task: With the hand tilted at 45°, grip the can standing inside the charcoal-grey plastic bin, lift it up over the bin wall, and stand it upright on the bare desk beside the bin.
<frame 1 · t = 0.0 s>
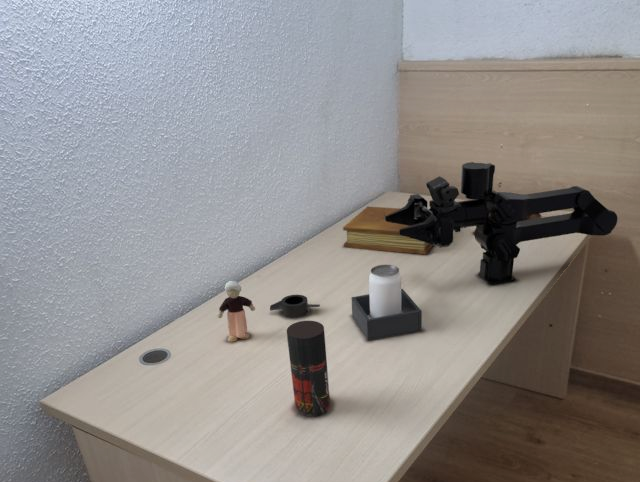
hand: (392, 225, 130), 17 cm above the table, tool horizontal, fingers open, 9 cm apart
grandmother figurine: (241, 337, 128), on the table
bin: (385, 323, 128), on the table
deodorant: (312, 407, 105), on the table
diary: (395, 239, 169), on the table
dark ring with tabs: (295, 312, 135), on the table
can: (385, 324, 128), resting in bin
place setting: (504, 223, 173), on the table
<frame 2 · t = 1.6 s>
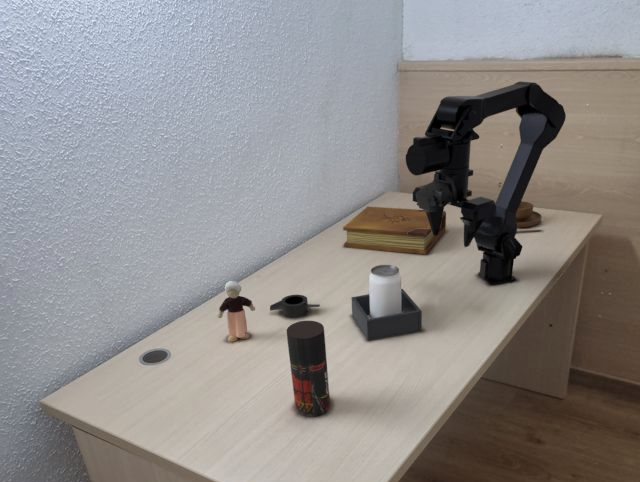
hand: (450, 240, 130), 13 cm above the table, tool pointing down, fingers open, 9 cm apart
nothing on the table moved.
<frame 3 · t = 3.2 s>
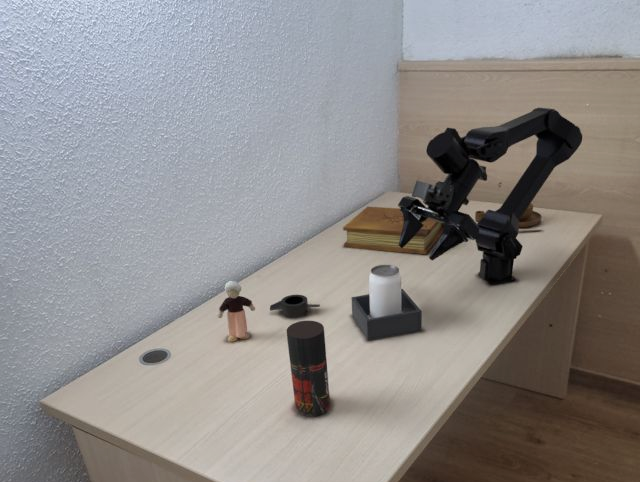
hand: (414, 252, 124), 13 cm above the table, tool tilted 45°, fingers open, 9 cm apart
nothing on the table moved.
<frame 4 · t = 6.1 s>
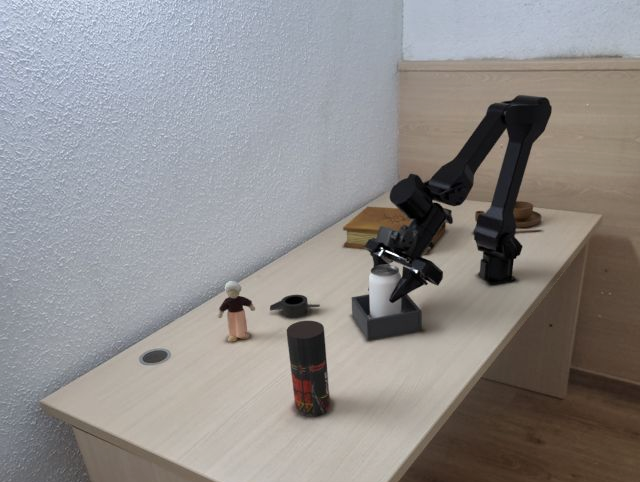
hand: (380, 296, 124), 7 cm above the table, tool tilted 45°, fingers closed on can, 6 cm apart
can: (385, 324, 128), resting in bin, touching gripper
everything else where it was.
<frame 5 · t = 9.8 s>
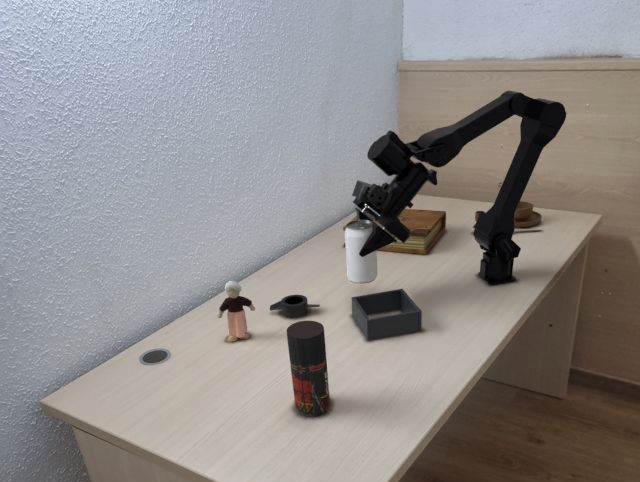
hand: (354, 250, 128), 13 cm above the table, tool tilted 45°, fingers closed on can, 6 cm apart
can: (362, 278, 132), point 6 cm above the table, touching gripper
everything else where it was.
when the fingers open (7 cm above the table, at t = 13.4 s): can stays where it is, on the table.
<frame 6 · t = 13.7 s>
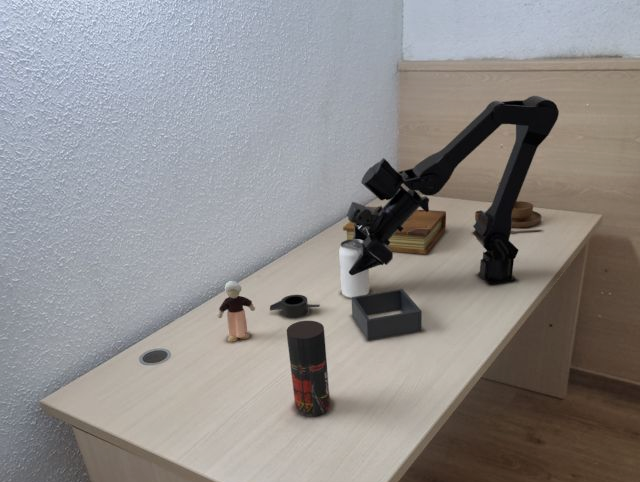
hand: (347, 266, 138), 7 cm above the table, tool tilted 45°, fingers open, 9 cm apart
can: (355, 293, 142), on the table
everything else where it was.
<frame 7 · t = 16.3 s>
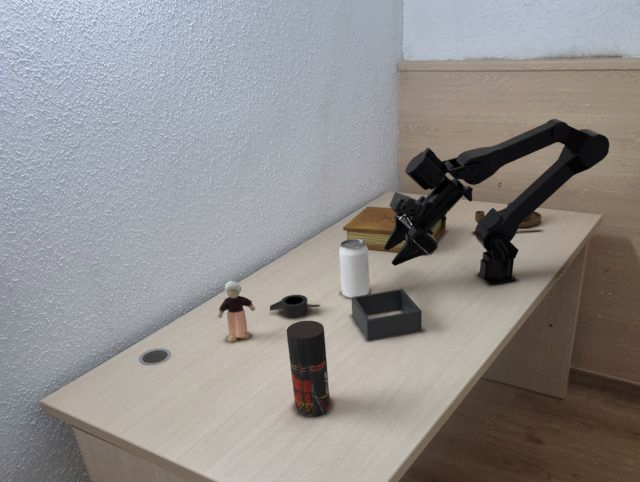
hand: (389, 256, 138), 8 cm above the table, tool tilted 45°, fingers open, 9 cm apart
nothing on the table moved.
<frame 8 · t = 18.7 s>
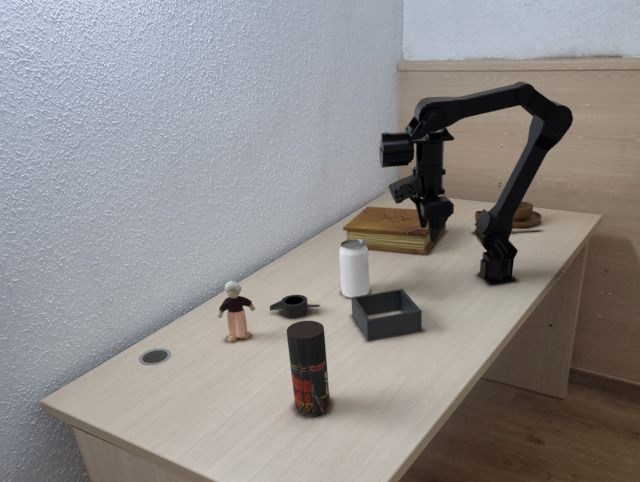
hand: (427, 234, 136), 12 cm above the table, tool pointing down, fingers open, 9 cm apart
nothing on the table moved.
at the end: can inside the target area (0.1 cm from its centre), on the table; can tilted 0°; the gripper is holding nothing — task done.
